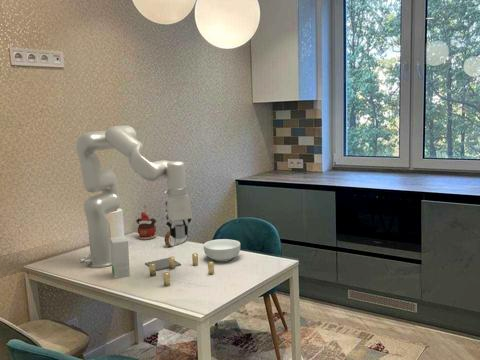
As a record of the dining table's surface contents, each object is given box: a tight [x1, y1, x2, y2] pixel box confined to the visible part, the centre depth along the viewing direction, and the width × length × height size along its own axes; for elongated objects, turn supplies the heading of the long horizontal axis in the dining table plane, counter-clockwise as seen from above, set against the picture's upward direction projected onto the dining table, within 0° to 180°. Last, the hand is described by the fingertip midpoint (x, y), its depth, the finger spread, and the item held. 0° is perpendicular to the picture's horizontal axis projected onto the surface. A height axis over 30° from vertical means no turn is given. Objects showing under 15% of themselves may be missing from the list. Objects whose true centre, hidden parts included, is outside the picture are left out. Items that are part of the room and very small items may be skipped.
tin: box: [164, 229, 189, 247], centre depth 238 cm, size 15×3×8 cm, turn 144°
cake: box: [135, 204, 157, 240], centre depth 252 cm, size 11×9×18 cm
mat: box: [144, 257, 182, 272], centre depth 208 cm, size 12×12×1 cm
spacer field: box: [148, 252, 215, 287], centre depth 195 cm, size 22×19×5 cm
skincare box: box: [110, 235, 131, 279], centre depth 196 cm, size 8×7×16 cm
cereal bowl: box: [203, 238, 241, 262], centre depth 212 cm, size 17×17×7 cm
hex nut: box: [173, 223, 186, 239], centre depth 191 cm, size 4×5×5 cm
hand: (179, 235), depth 192 cm, fingers closed on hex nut, 4 cm apart
